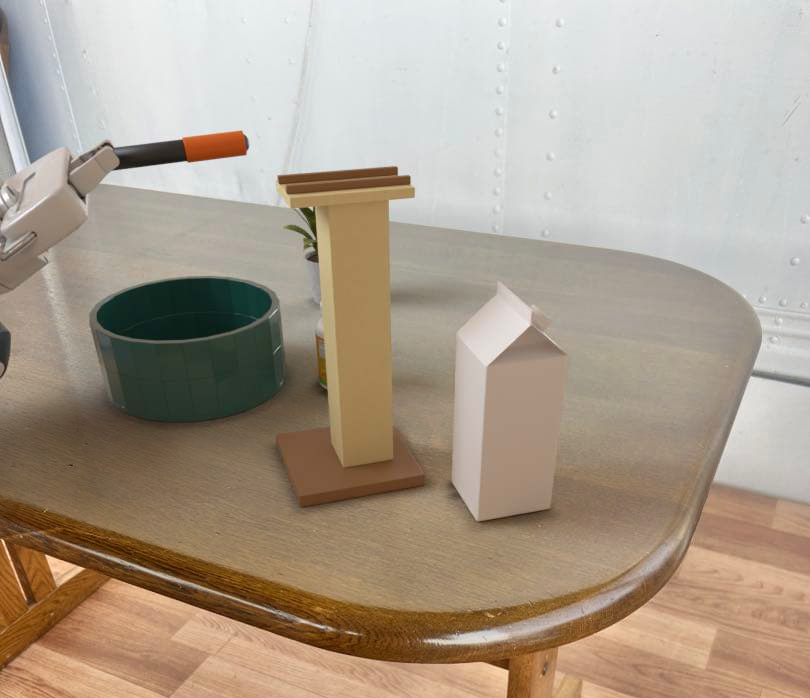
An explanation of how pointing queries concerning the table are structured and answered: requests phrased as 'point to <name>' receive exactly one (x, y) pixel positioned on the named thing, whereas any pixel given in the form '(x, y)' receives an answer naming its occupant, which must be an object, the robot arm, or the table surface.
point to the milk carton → (506, 409)
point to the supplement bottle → (321, 351)
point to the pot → (190, 347)
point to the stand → (351, 339)
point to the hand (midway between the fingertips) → (114, 149)
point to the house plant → (312, 256)
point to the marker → (182, 150)
